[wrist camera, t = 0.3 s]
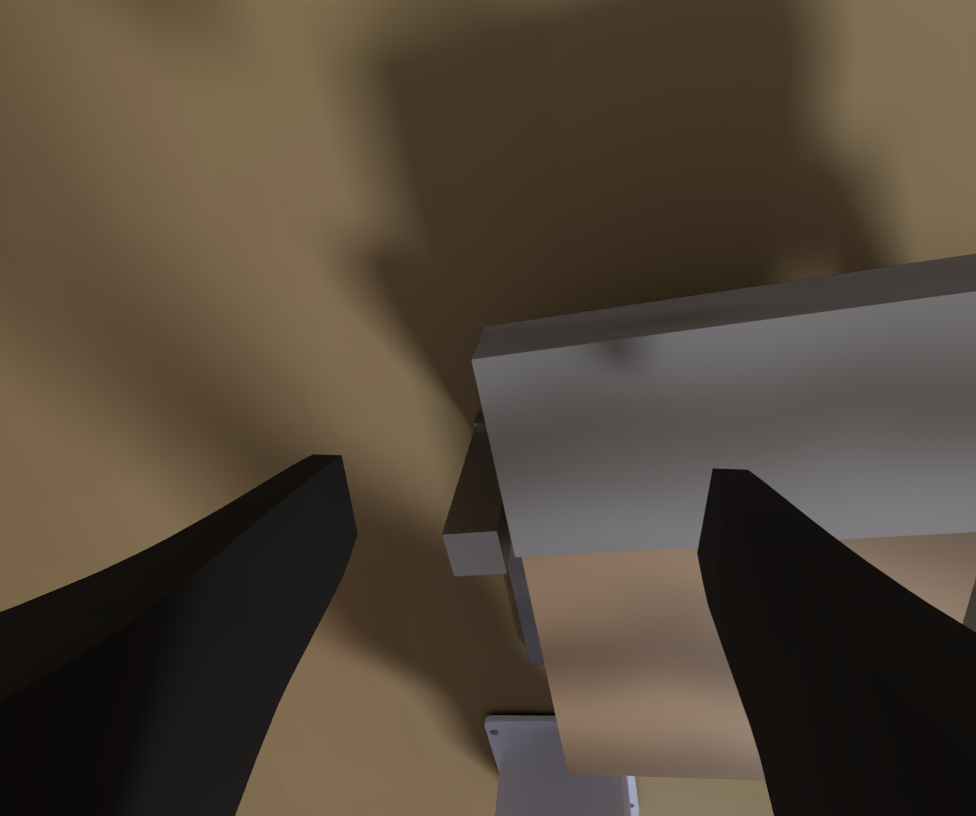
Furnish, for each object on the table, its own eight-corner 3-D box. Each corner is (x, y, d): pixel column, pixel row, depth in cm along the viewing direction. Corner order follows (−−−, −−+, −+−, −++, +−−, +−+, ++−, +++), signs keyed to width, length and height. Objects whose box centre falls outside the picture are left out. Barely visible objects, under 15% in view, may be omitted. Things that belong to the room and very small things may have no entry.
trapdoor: (896, 737, 19) (937, 811, 17) (563, 732, 22) (562, 796, 20) (1016, 247, 12) (1117, 272, 9) (478, 327, 14) (462, 360, 12)
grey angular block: (878, 644, 24) (989, 823, 17) (530, 650, 27) (521, 803, 21) (933, 362, 18) (1132, 482, 11) (476, 413, 21) (440, 529, 15)
